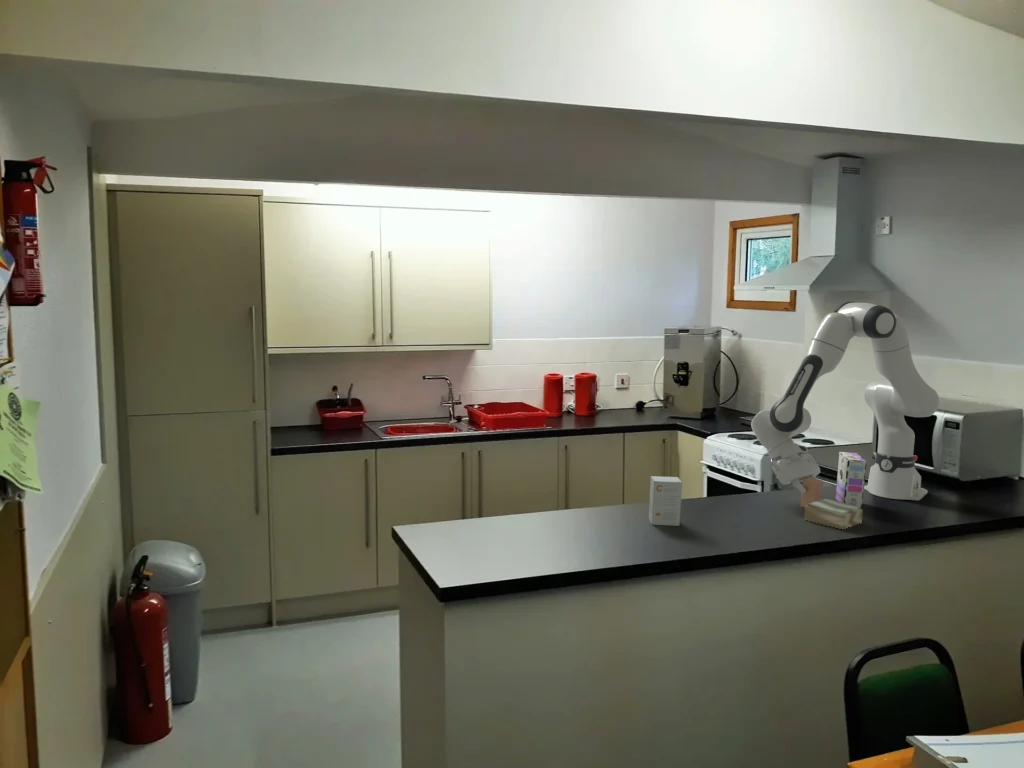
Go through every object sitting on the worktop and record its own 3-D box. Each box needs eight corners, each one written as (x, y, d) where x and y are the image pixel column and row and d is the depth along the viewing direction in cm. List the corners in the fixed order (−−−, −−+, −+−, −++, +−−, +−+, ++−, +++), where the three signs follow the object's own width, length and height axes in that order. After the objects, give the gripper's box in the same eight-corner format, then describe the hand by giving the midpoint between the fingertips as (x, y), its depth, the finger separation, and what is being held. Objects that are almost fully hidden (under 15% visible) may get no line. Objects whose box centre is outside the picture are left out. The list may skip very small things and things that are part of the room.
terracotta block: (807, 504, 260) (809, 477, 259) (820, 508, 257) (823, 480, 255) (800, 507, 257) (802, 479, 256) (813, 510, 254) (816, 482, 252)
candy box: (862, 512, 254) (867, 461, 252) (842, 510, 255) (847, 459, 253) (853, 500, 267) (857, 452, 265) (834, 499, 268) (838, 450, 266)
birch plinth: (823, 513, 250) (825, 497, 250) (861, 523, 241) (863, 506, 241) (803, 519, 242) (805, 503, 242) (842, 530, 234) (844, 513, 233)
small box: (675, 519, 237) (678, 476, 236) (679, 526, 231) (682, 482, 230) (647, 518, 238) (650, 475, 236) (651, 525, 231) (654, 480, 230)
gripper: (775, 453, 253) (801, 490, 247) (808, 446, 267) (834, 481, 261) (761, 464, 257) (787, 501, 251) (795, 456, 271) (820, 491, 265)
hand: (811, 490), depth 256 cm, fingers open, 6 cm apart
